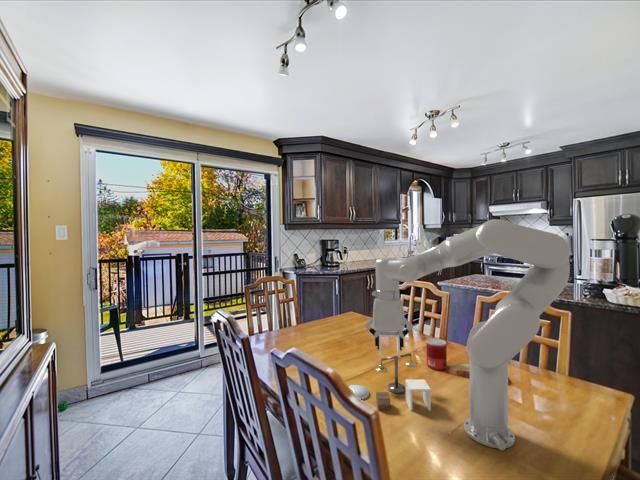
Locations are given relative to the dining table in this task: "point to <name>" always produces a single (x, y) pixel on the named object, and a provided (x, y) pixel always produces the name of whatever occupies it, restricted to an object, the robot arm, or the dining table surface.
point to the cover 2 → (418, 386)
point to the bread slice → (461, 370)
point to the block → (383, 400)
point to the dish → (360, 391)
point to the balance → (395, 386)
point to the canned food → (436, 354)
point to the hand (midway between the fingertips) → (389, 348)
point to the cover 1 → (390, 334)
